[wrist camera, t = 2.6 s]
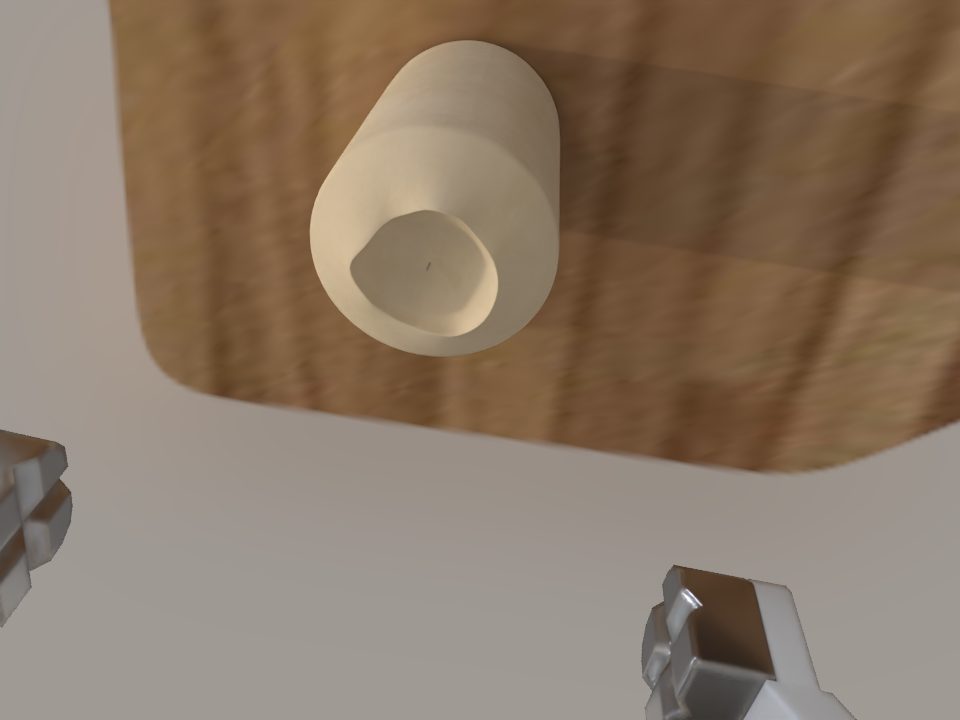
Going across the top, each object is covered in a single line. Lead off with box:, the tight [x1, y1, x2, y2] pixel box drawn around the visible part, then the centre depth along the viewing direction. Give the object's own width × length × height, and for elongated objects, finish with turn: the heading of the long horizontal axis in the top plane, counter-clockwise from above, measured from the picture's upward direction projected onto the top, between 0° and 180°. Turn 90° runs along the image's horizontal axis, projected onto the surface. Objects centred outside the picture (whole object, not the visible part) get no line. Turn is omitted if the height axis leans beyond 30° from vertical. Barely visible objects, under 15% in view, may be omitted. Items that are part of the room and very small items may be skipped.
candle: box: [310, 40, 560, 357], centre depth 21 cm, size 6×6×10 cm
